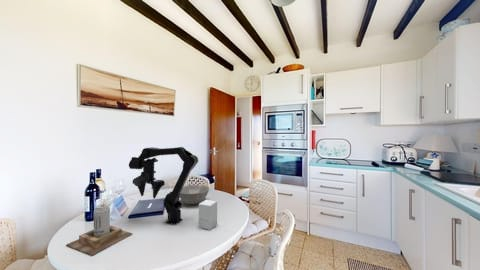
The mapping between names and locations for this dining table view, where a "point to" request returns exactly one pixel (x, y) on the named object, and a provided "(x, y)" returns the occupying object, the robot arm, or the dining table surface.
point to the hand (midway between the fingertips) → (148, 197)
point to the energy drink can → (101, 220)
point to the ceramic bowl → (193, 194)
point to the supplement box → (207, 214)
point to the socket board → (94, 251)
